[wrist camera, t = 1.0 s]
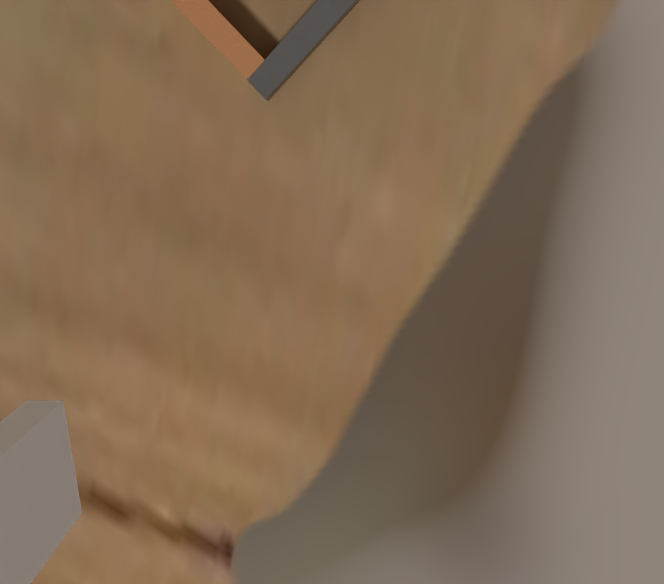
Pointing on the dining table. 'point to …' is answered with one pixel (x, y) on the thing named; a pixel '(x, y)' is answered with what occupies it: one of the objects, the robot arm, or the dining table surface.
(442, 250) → the dining table surface
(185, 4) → the open rectangular frame
